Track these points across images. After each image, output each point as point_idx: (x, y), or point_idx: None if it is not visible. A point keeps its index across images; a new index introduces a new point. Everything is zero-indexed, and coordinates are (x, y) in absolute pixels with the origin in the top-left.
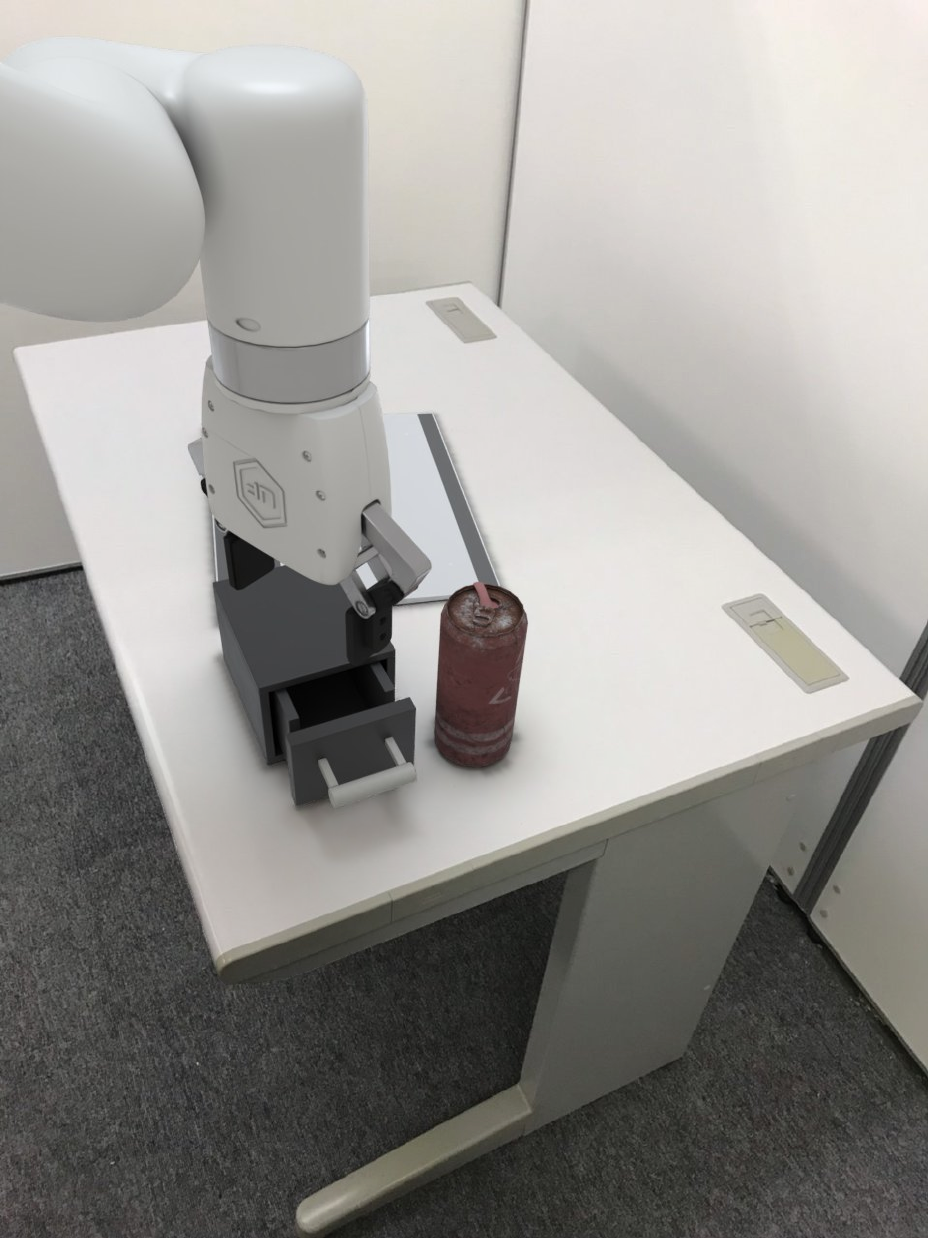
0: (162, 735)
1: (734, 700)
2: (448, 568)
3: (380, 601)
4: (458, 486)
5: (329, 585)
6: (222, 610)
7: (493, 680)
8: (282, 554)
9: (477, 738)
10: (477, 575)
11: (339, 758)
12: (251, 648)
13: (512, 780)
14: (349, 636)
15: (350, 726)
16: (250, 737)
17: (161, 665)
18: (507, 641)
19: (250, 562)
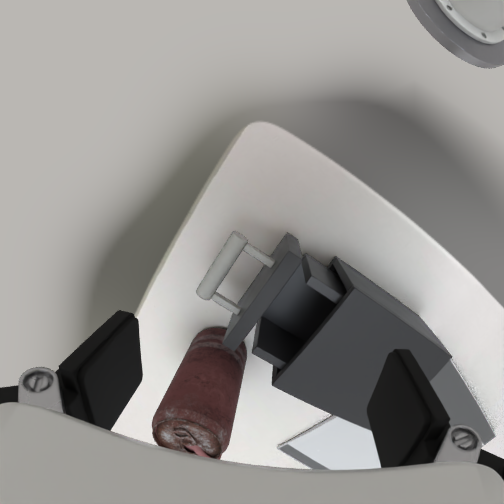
0: (417, 235)
1: (125, 423)
2: (317, 447)
3: (10, 397)
4: None
5: (364, 408)
6: (433, 341)
7: (169, 388)
8: (148, 481)
9: (194, 346)
10: (297, 451)
11: (264, 275)
12: (388, 321)
13: (178, 333)
14: (98, 339)
15: (256, 299)
16: (362, 269)
17: (452, 286)
18: (153, 420)
19: (392, 401)
